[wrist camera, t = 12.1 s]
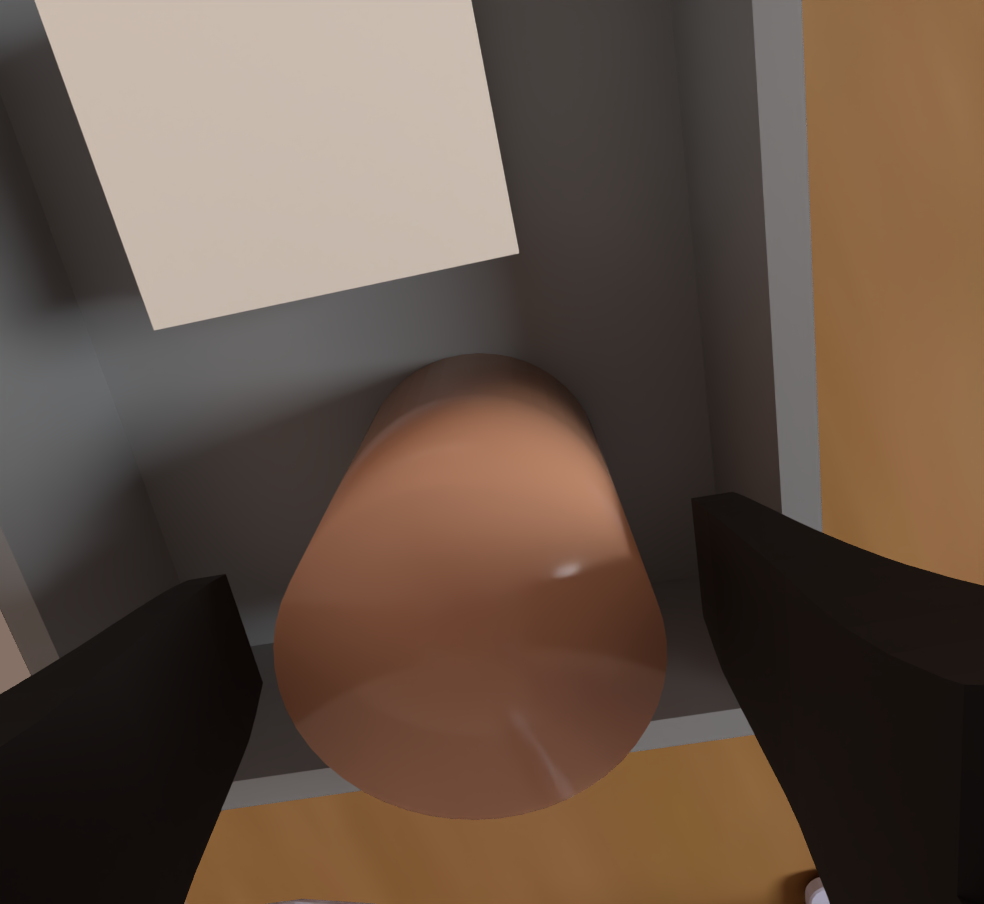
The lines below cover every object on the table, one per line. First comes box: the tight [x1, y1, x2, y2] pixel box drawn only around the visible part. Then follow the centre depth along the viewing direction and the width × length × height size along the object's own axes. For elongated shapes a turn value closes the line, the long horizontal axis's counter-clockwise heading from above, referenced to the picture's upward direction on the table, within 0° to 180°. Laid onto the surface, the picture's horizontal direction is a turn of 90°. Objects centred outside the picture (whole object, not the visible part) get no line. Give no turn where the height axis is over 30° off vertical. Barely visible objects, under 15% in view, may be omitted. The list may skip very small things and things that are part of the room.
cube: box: [35, 0, 519, 330], centre depth 12 cm, size 5×5×5 cm
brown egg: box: [273, 353, 667, 820], centre depth 13 cm, size 5×5×7 cm
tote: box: [0, 0, 822, 810], centre depth 13 cm, size 17×13×5 cm
